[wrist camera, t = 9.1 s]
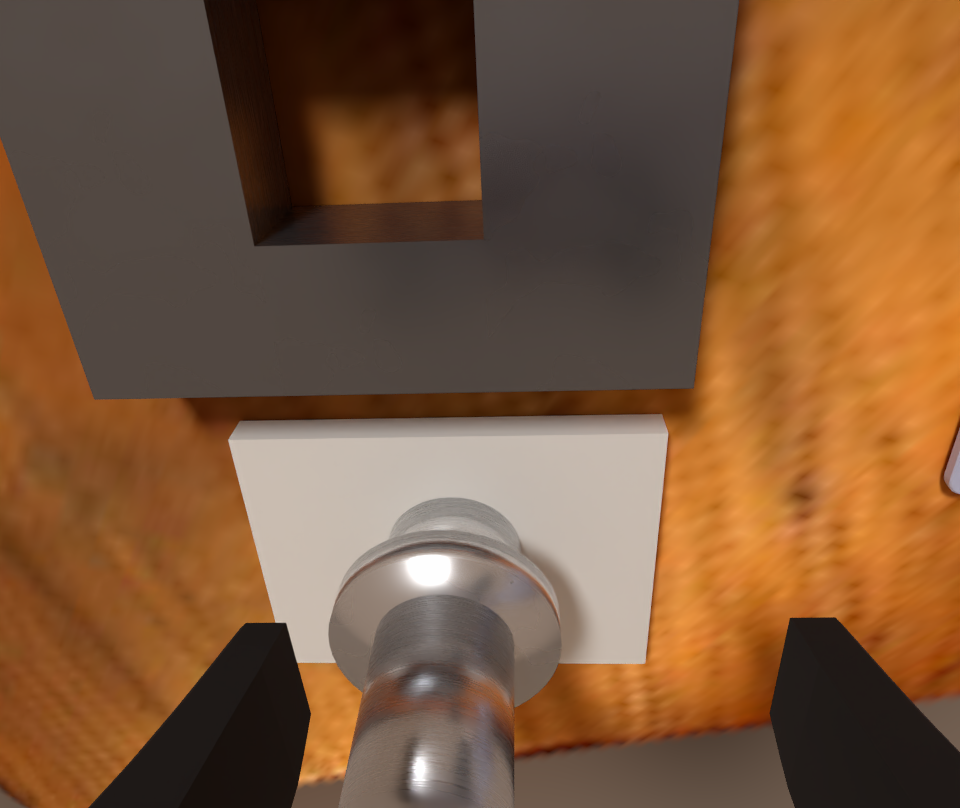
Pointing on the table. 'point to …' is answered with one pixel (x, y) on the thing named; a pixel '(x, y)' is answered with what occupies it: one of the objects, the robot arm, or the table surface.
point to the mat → (471, 475)
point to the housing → (370, 206)
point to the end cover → (442, 657)
